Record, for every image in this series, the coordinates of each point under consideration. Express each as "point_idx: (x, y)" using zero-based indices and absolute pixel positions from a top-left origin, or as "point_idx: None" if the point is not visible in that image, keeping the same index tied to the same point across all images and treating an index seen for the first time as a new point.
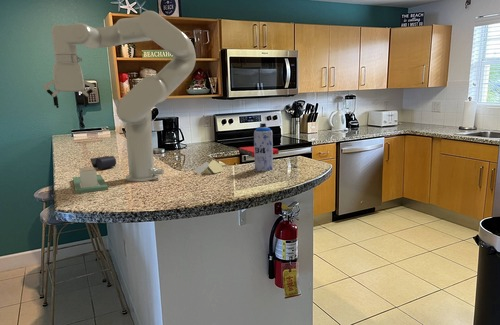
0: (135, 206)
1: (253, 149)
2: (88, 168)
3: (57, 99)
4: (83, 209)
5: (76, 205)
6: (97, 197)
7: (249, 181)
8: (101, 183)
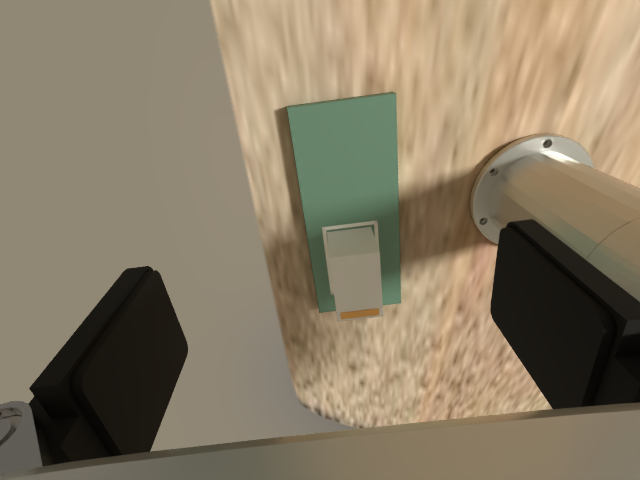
0: None
1: None
2: (360, 276)
3: (149, 443)
4: (341, 413)
5: (326, 389)
6: (368, 353)
7: None
8: (387, 263)
